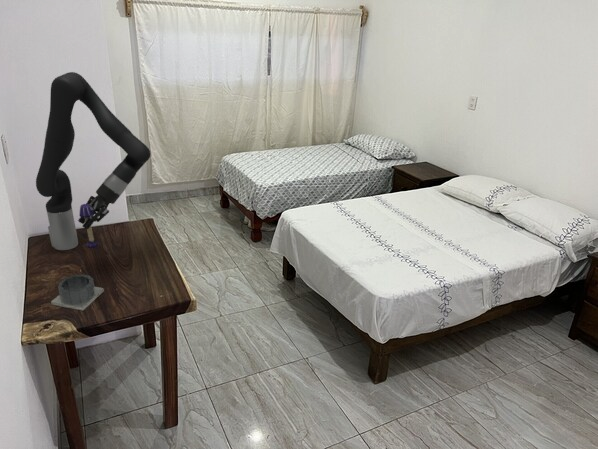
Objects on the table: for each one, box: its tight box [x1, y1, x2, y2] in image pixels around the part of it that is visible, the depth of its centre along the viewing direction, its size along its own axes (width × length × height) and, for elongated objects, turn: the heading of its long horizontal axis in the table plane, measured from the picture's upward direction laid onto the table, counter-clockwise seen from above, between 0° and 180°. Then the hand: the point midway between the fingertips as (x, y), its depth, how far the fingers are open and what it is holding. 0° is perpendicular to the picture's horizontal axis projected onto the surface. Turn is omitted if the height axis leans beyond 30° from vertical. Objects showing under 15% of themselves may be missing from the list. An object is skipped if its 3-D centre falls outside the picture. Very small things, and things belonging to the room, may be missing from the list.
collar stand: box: [50, 273, 105, 311], centre depth 151 cm, size 12×12×6 cm
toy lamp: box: [79, 203, 99, 249], centre depth 159 cm, size 5×5×17 cm
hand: (82, 225), depth 157 cm, fingers closed on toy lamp, 4 cm apart
